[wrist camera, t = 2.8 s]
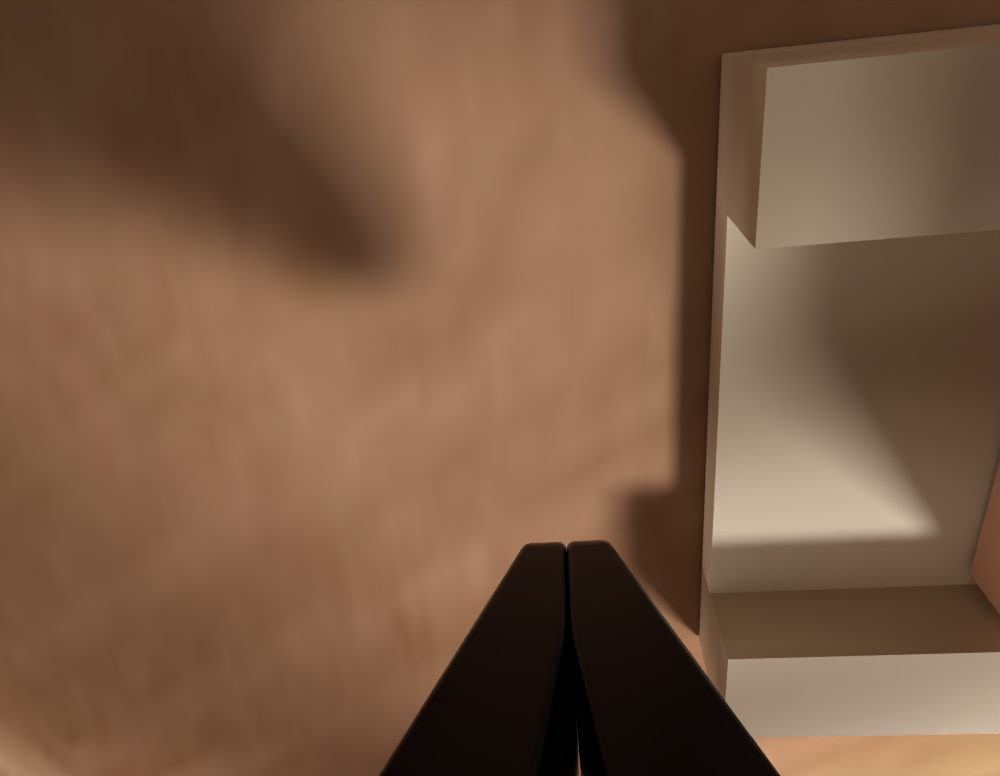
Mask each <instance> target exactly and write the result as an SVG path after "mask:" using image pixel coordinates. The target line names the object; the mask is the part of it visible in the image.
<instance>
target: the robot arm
mask: <svg viewBox="0 0 1000 776" xmlns="http://www.w3.org/2000/svg"><path fill="white" fill-rule="evenodd" d="M577 732H578V734H577ZM578 744H579V757H580V769H581V776H780V775H779V773H778V772H777V771H776V769H775V768H774V766H773V765H772V764H771V762H770V761H769V760H768V758H767V757H766V756H765V754H764V753H763V751H762V750H761V749H760V747H759V746H758V745H757V743H756V742H755V741H754V739H753V738H752V736H751V735H750V734H749V732H748V731H747V730H746V728H745V727H744V725H743V724H742V723H741V721H740V720H739V719H738V717H737V716H736V715H735V713H734V712H733V710H732V709H731V708H730V706H729V705H728V704H727V702H726V701H725V700H724V698H723V697H722V695H721V694H720V693H719V691H718V690H717V689H716V687H715V686H714V685H713V683H712V682H711V680H710V679H709V678H708V676H707V675H706V674H705V672H704V671H703V670H702V668H701V667H700V665H699V664H698V663H697V661H696V660H695V659H694V657H693V656H692V654H691V653H690V652H689V650H688V649H687V648H686V646H685V645H684V644H683V642H682V641H681V639H680V638H679V637H678V635H677V634H676V633H675V631H674V630H673V629H672V627H671V626H670V624H669V623H668V622H667V620H666V619H665V618H664V616H663V615H662V614H661V612H660V611H659V609H658V608H657V607H656V605H655V604H654V603H653V601H652V600H651V598H650V597H649V596H648V594H647V593H646V592H645V590H644V589H643V588H642V586H641V585H640V583H639V582H638V581H637V579H636V578H635V577H634V575H633V574H632V573H631V571H630V570H629V568H628V567H627V566H626V564H625V563H624V562H623V560H622V559H621V558H620V556H619V555H618V553H617V552H616V551H615V549H614V548H613V547H612V545H611V544H610V543H609V542H607V541H604V540H593V541H573V542H571V543H569V544H568V546H567V552H566V547H565V545H564V544H563V543H561V542H547V543H529V544H526V545H525V546H524V547H523V548H522V549H521V550H520V552H519V554H518V555H517V557H516V558H515V560H514V562H513V563H512V565H511V566H510V568H509V569H508V571H507V573H506V574H505V576H504V577H503V579H502V581H501V582H500V584H499V585H498V587H497V589H496V590H495V592H494V593H493V595H492V596H491V598H490V600H489V601H488V603H487V604H486V606H485V608H484V609H483V611H482V612H481V614H480V615H479V617H478V619H477V620H476V622H475V623H474V625H473V627H472V628H471V630H470V631H469V633H468V635H467V636H466V638H465V639H464V641H463V642H462V644H461V646H460V647H459V649H458V650H457V652H456V654H455V655H454V657H453V658H452V660H451V662H450V663H449V665H448V666H447V668H446V669H445V671H444V673H443V674H442V676H441V677H440V679H439V681H438V682H437V684H436V685H435V687H434V689H433V690H432V692H431V693H430V695H429V696H428V698H427V700H426V701H425V703H424V704H423V706H422V708H421V709H420V711H419V712H418V714H417V715H416V717H415V719H414V720H413V722H412V723H411V725H410V727H409V728H408V730H407V731H406V733H405V735H404V736H403V738H402V739H401V741H400V742H399V744H398V746H397V747H396V749H395V750H394V752H393V754H392V755H391V757H390V758H389V760H388V762H387V763H386V765H385V766H384V768H383V769H382V771H381V773H380V774H379V776H579V763H578Z"/></svg>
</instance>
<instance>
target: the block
mask: <svg viewBox="0 0 1000 776" xmlns="http://www.w3.org/2000/svg"><path fill="white" fill-rule="evenodd" d="M970 575H971V576H972V577H973V579H974V580H975V582H976V583H977V584H978V586H979V587H980V588H981V590H982V591H983V592H984V594H985V595H986V597H987V598H988V599H989V601H990V602H991V603H992V605H993V606H994V607H995V609H996V610H997V611H998V613H999V614H1000V462H999V466H998V470H997V473H996V477H995V481H994V485H993V488H992V492H991V496H990V500H989V503H988V507H987V511H986V514H985V518H984V522H983V526H982V529H981V533H980V537H979V540H978V544H977V548H976V552H975V555H974V559H973V563H972V567H971V570H970Z"/></svg>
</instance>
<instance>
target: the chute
mask: <svg viewBox="0 0 1000 776" xmlns="http://www.w3.org/2000/svg"><path fill="white" fill-rule="evenodd" d="M999 462H1000V24H994V25H984V26H975V27H965V28H956V29H947V30H937V31H928V32H918V33H909V34H899V35H890V36H881V37H871V38H862V39H852V40H843V41H833V42H824V43H815V44H805V45H796V46H786V47H777V48H767V49H758V50H749V51H739V52H730V53H722V64H721V90H720V116H719V141H718V167H717V193H716V219H715V245H714V271H713V297H712V322H711V348H710V374H709V400H708V426H707V452H706V478H705V504H704V529H703V555H702V581H701V607H700V633H699V640H700V645H701V649H702V653H703V657H704V661H705V666H706V670H707V674H708V678H709V679H710V680H711V682H712V683H713V685H714V686H715V687H716V689H717V690H718V691H719V693H720V694H721V695H722V697H723V698H724V700H725V701H726V702H727V704H728V705H729V706H730V708H731V709H732V710H733V712H734V713H735V715H736V716H737V717H738V719H739V720H740V721H741V723H742V724H743V725H744V727H745V728H746V730H747V731H748V732H749V734H750V735H751V736H752V738H761V737H822V736H884V735H945V734H1000V614H999V613H998V611H997V610H996V609H995V607H994V606H993V605H992V603H991V602H990V601H989V599H988V598H987V597H986V595H985V594H984V592H983V591H982V590H981V588H980V587H979V586H978V584H977V583H976V582H975V580H974V579H973V577H972V576H971V575H970V570H971V567H972V563H973V559H974V555H975V552H976V548H977V544H978V540H979V537H980V533H981V529H982V526H983V522H984V518H985V514H986V511H987V507H988V503H989V500H990V496H991V492H992V488H993V485H994V481H995V477H996V473H997V470H998V466H999Z"/></svg>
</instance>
